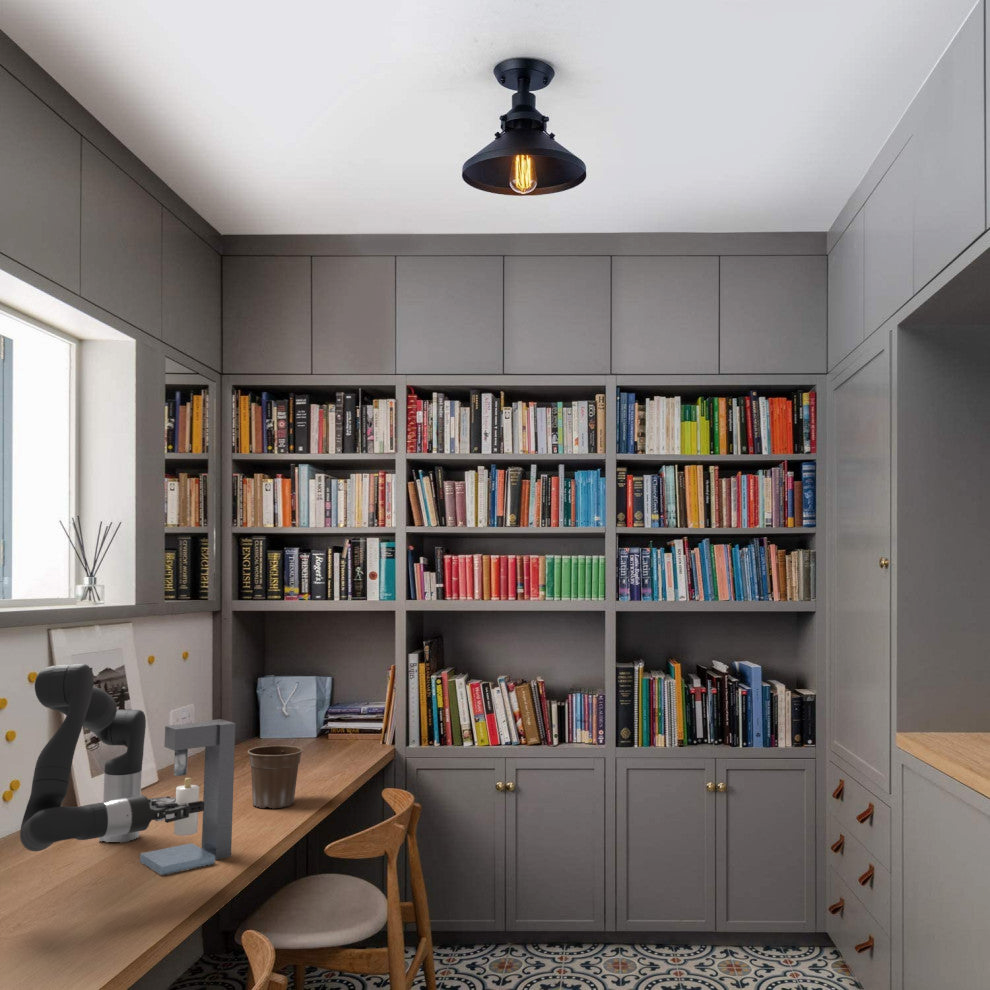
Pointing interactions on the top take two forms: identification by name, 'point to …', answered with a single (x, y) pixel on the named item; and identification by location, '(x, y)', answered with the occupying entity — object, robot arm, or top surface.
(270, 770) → the plant pot
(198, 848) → the press
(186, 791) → the white cylinder
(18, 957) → the top surface
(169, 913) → the top surface
